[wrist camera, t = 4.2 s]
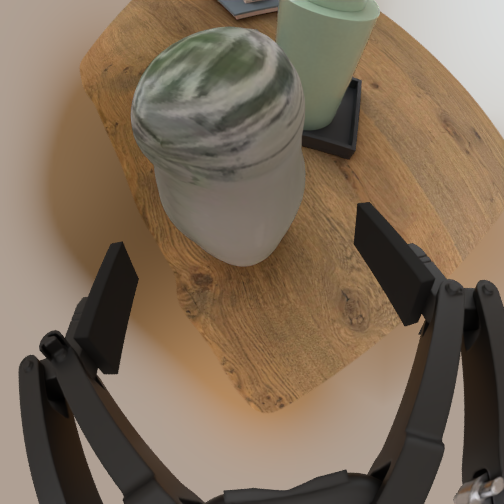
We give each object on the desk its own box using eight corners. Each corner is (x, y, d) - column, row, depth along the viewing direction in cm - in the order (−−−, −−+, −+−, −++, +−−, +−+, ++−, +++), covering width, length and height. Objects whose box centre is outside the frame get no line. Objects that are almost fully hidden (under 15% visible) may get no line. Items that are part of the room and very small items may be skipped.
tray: (143, 117, 38) (137, 107, 36) (177, 56, 40) (174, 46, 38) (349, 159, 37) (355, 150, 35) (356, 90, 39) (361, 80, 37)
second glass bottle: (255, 98, 38) (259, -78, 10) (303, 72, 39) (335, -79, 11) (302, 142, 37) (361, -45, 9) (349, 111, 38) (421, -40, 10)
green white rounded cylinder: (217, 182, 37) (165, -13, 9) (292, 209, 36) (375, 28, 8) (186, 252, 35) (34, 138, 8) (264, 283, 35) (315, 236, 7)
